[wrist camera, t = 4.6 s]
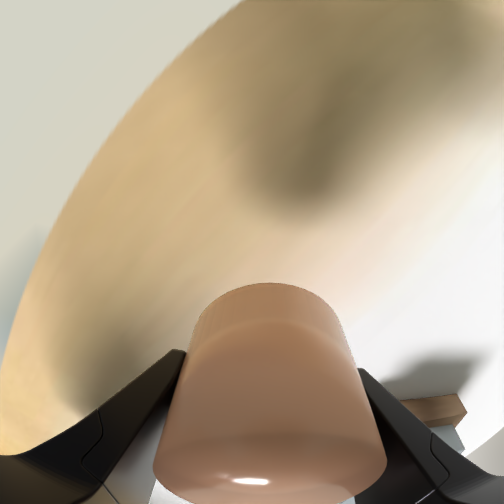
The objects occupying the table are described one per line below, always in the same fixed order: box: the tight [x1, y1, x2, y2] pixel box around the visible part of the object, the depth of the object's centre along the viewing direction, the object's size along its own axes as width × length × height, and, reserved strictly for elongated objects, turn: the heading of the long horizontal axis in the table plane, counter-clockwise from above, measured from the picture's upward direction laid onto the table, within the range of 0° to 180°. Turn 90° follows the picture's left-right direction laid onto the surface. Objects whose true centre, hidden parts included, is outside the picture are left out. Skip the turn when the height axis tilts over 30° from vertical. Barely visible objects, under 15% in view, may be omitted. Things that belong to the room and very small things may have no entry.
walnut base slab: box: [398, 394, 467, 428], centre depth 19 cm, size 10×10×3 cm
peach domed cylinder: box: [153, 283, 387, 504], centre depth 7 cm, size 5×5×5 cm
